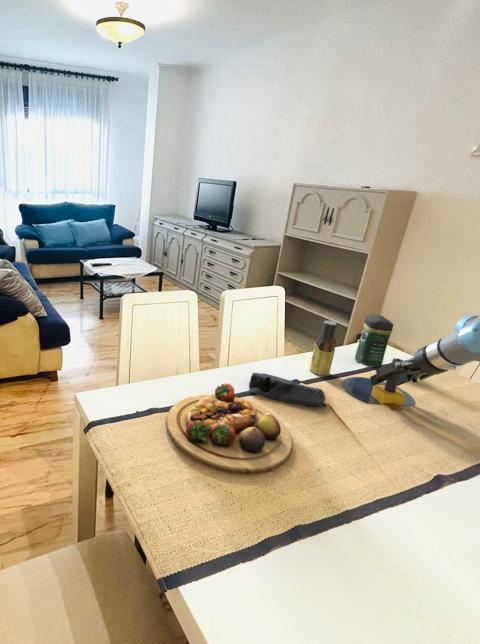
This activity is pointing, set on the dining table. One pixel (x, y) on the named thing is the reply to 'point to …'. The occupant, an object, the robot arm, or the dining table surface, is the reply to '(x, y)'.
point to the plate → (369, 390)
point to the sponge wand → (389, 391)
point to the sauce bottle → (324, 350)
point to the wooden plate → (229, 433)
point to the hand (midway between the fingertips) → (383, 381)
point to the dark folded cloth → (285, 390)
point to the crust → (393, 406)
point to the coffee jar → (373, 340)
